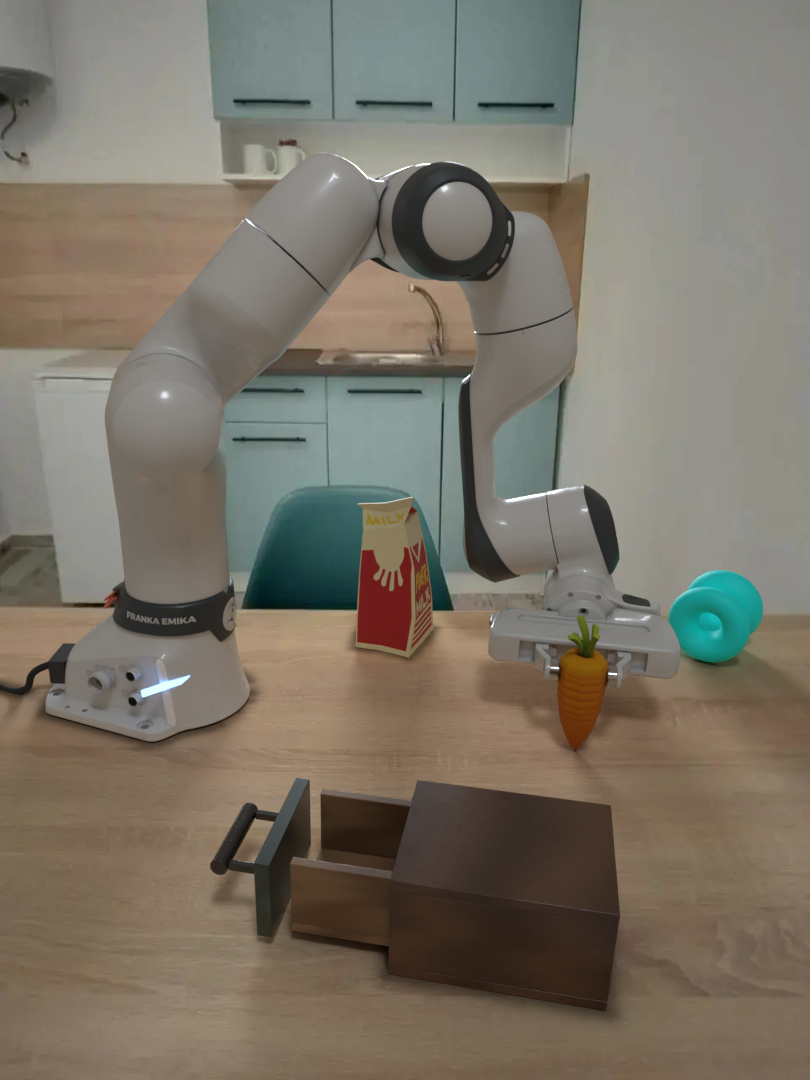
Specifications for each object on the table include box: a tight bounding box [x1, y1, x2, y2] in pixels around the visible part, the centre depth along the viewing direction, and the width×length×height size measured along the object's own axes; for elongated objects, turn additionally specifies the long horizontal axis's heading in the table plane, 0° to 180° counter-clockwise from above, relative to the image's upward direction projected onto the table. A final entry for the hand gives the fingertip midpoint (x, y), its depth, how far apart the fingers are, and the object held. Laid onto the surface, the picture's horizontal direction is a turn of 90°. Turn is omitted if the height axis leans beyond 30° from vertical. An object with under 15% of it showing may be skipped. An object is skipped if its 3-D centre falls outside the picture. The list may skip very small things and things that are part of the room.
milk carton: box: [355, 496, 434, 658], centre depth 107 cm, size 9×9×20 cm
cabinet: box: [387, 779, 621, 1011], centre depth 63 cm, size 16×12×9 cm
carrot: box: [556, 615, 609, 751], centre depth 85 cm, size 5×5×15 cm
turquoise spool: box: [667, 569, 764, 663], centre depth 108 cm, size 10×10×10 cm
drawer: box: [209, 777, 412, 947], centre depth 65 cm, size 19×10×7 cm, turn 80°
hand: (583, 678), depth 84 cm, fingers closed on carrot, 5 cm apart
